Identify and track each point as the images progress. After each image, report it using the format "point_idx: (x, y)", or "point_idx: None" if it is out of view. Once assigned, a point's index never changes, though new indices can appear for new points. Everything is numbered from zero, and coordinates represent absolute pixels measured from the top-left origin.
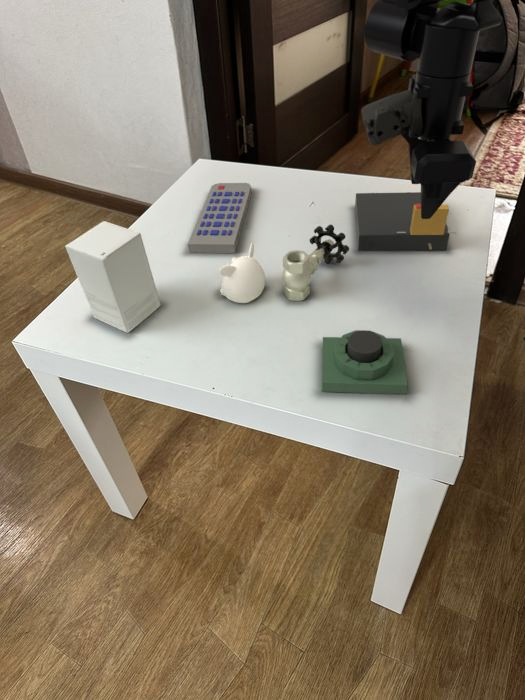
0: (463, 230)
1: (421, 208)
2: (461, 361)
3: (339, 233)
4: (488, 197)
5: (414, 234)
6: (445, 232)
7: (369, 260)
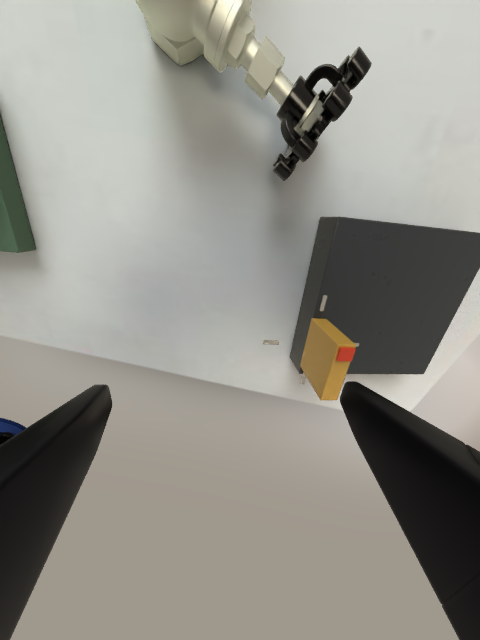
0: None
1: (55, 413)
2: (31, 333)
3: (314, 140)
4: None
5: (310, 324)
6: None
7: (286, 235)
